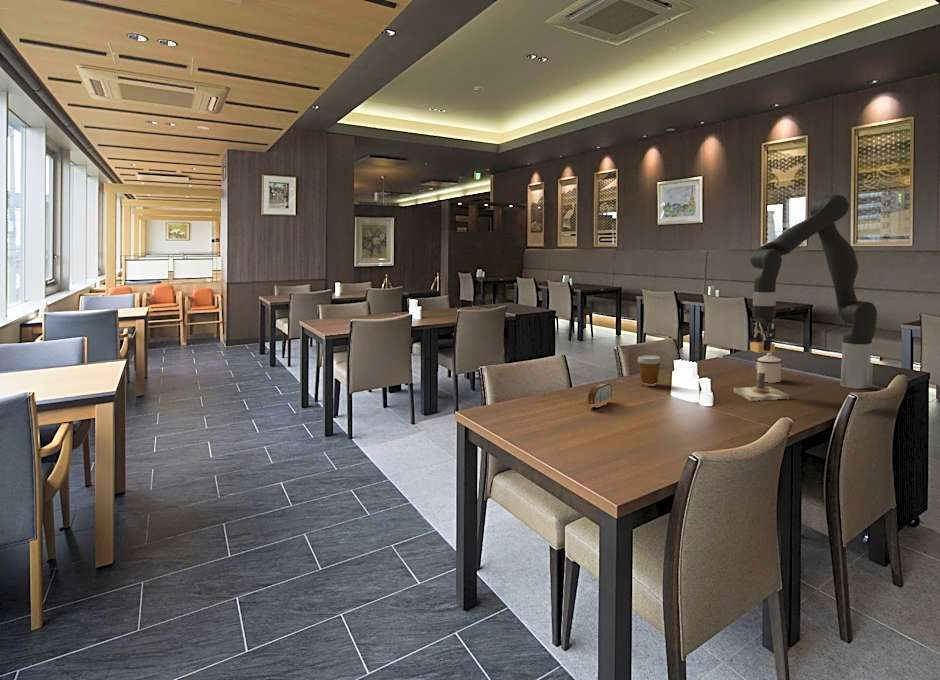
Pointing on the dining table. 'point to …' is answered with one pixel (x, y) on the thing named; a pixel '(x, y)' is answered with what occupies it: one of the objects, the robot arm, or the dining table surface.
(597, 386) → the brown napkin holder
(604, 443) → the dining table surface
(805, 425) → the dining table surface
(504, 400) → the dining table surface
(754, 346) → the orange square socket block
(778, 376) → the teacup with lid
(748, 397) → the post stand
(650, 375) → the disposable coffee cup
